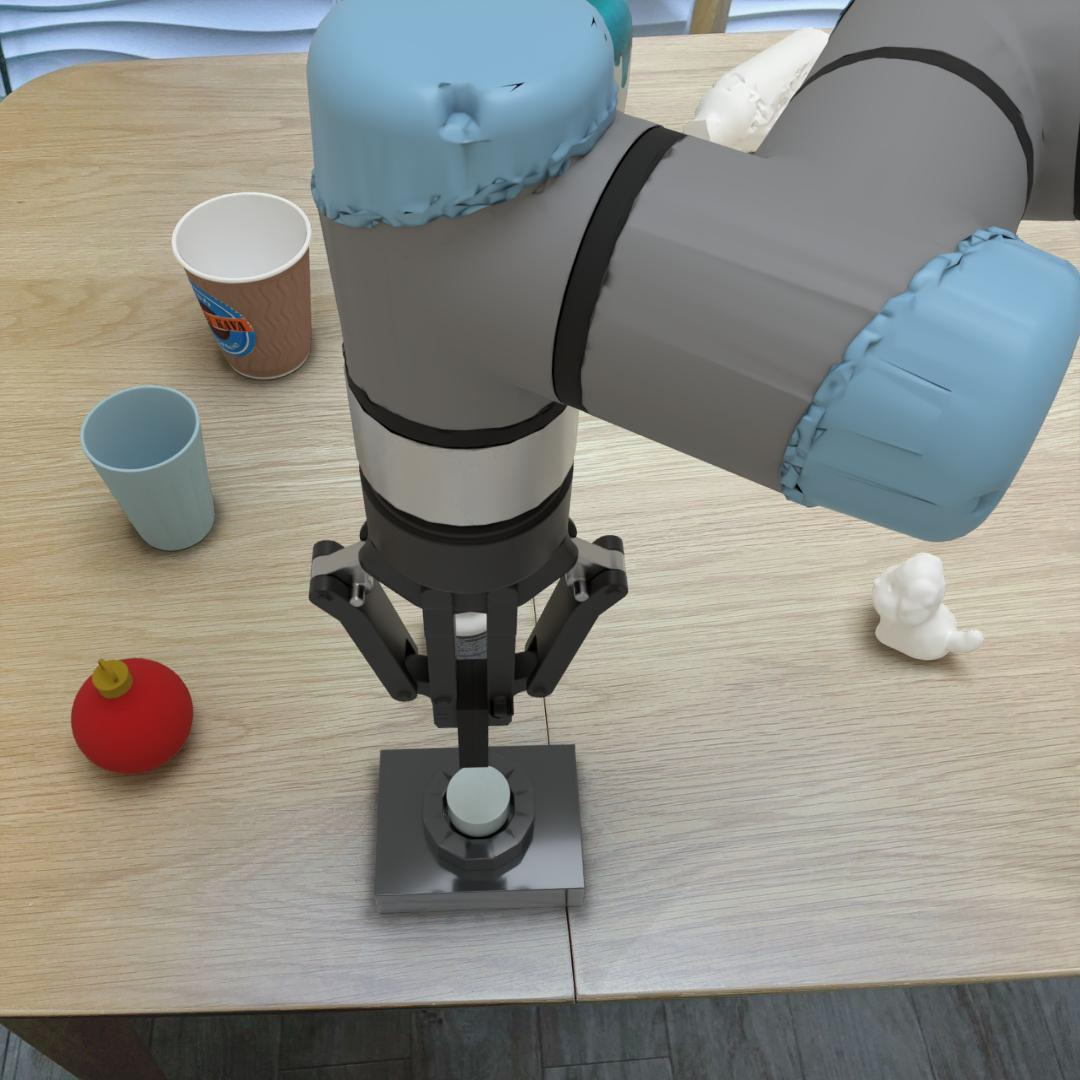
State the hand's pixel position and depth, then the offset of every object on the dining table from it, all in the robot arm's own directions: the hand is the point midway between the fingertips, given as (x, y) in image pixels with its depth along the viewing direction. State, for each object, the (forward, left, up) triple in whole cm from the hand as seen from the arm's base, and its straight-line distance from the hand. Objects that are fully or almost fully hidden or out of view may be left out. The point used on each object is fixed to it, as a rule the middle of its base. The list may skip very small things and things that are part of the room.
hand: (473, 743), depth 57 cm
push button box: (0, 0, -13) cm, 13 cm away
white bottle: (+30, -72, -13) cm, 79 cm away
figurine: (-12, -31, -13) cm, 36 cm away
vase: (+43, -57, -13) cm, 73 cm away
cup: (+33, -2, -13) cm, 35 cm away
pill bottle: (+10, -9, -13) cm, 19 cm away
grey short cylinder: (0, 0, -8) cm, 8 cm away
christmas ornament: (+20, +10, -13) cm, 26 cm away
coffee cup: (+42, -18, -13) cm, 47 cm away
